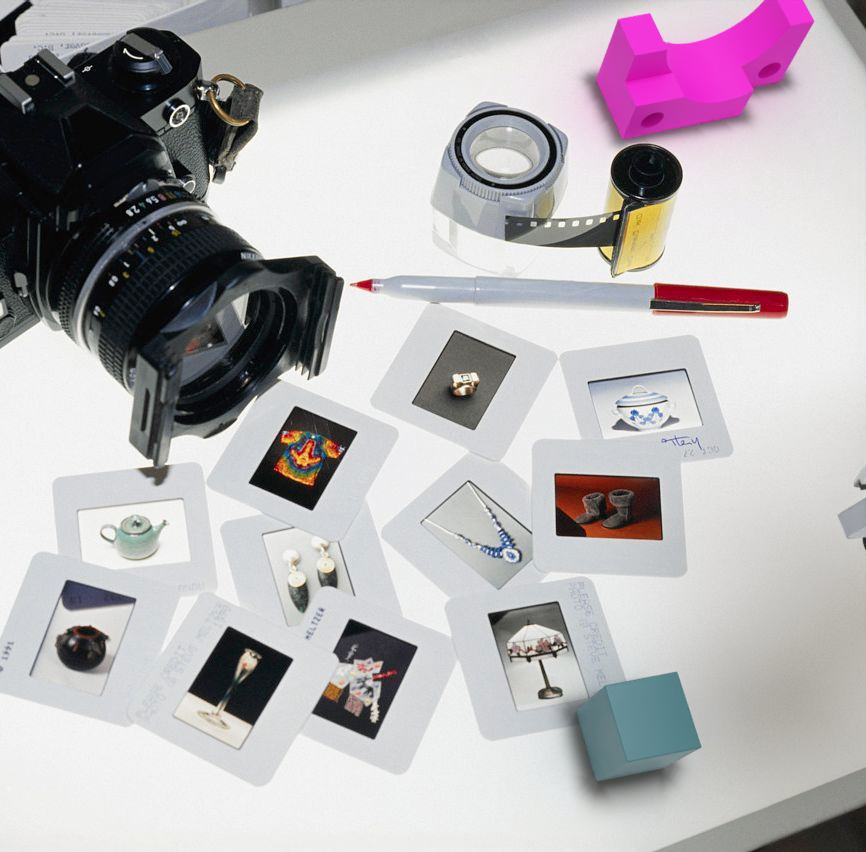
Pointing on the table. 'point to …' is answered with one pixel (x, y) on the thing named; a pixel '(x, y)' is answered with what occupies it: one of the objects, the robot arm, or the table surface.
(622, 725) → the teal rectangular block
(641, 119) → the magenta bracket
